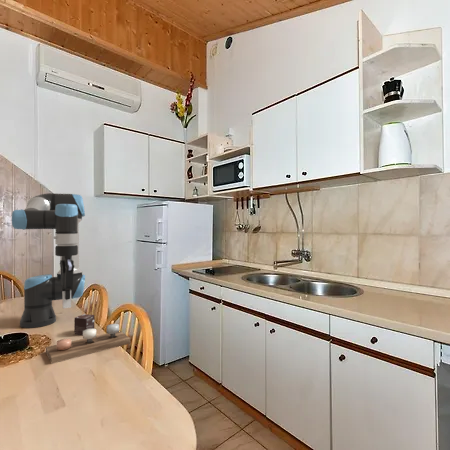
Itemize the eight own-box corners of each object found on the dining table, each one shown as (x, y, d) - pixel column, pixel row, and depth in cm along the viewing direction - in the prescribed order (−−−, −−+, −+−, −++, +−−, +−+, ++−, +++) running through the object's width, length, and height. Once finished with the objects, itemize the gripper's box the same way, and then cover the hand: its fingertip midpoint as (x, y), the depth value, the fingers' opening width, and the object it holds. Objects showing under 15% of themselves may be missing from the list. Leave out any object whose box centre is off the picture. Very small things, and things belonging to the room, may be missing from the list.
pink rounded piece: (55, 352, 111) (55, 340, 111) (69, 349, 114) (69, 337, 114) (58, 356, 108) (57, 344, 108) (72, 353, 111) (72, 341, 111)
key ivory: (81, 341, 117) (81, 330, 117) (94, 338, 120) (94, 327, 120) (84, 345, 113) (84, 333, 113) (97, 342, 116) (97, 330, 116)
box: (86, 335, 130) (85, 318, 130) (73, 334, 131) (73, 317, 131) (94, 330, 136) (94, 314, 136) (83, 329, 137) (83, 313, 137)
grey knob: (105, 336, 123) (104, 325, 123) (116, 333, 126) (116, 323, 126) (108, 339, 119) (108, 328, 119) (120, 336, 122) (120, 326, 122)
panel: (45, 352, 112) (45, 347, 112) (119, 335, 130) (119, 330, 130) (51, 363, 103) (51, 357, 103) (130, 343, 121) (130, 338, 121)
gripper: (52, 244, 115) (52, 305, 115) (58, 246, 105) (58, 313, 105) (73, 243, 120) (73, 302, 120) (81, 245, 110) (81, 309, 110)
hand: (66, 307), depth 113 cm, fingers closed
